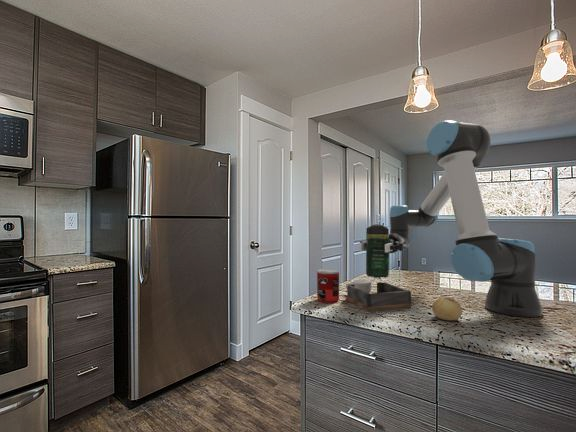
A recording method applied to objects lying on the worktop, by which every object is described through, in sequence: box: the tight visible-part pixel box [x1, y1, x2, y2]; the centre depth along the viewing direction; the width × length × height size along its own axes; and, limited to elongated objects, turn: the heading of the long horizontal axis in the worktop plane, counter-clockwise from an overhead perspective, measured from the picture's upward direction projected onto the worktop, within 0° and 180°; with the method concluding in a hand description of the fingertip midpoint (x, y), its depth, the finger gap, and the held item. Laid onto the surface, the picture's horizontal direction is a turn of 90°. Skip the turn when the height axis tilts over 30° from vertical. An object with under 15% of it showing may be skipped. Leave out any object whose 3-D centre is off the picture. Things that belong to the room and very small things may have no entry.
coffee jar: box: [365, 223, 390, 279], centre depth 110 cm, size 10×8×19 cm
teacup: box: [345, 278, 372, 294], centre depth 121 cm, size 10×8×5 cm
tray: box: [345, 281, 412, 313], centre depth 108 cm, size 16×16×6 cm
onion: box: [431, 296, 463, 321], centre depth 92 cm, size 8×8×7 cm
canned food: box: [316, 268, 340, 304], centre depth 113 cm, size 8×8×11 cm
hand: (372, 247), depth 106 cm, fingers closed on coffee jar, 8 cm apart
